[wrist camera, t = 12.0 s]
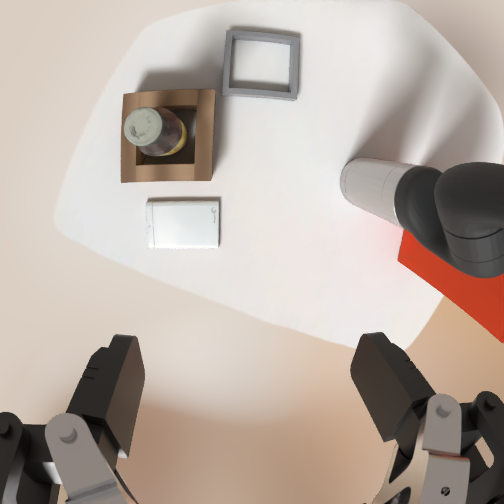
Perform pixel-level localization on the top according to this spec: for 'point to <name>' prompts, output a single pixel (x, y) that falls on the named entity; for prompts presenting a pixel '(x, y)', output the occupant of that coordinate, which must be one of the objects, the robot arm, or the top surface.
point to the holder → (205, 107)
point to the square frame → (265, 38)
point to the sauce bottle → (155, 131)
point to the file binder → (458, 285)
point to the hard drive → (183, 224)
